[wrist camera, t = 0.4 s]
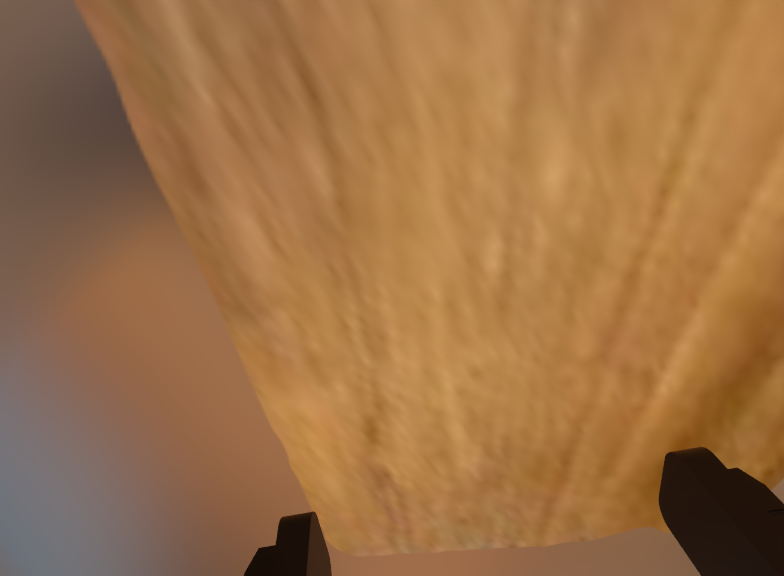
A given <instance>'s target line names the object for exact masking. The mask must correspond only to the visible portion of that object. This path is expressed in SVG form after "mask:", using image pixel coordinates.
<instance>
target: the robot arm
mask: <svg viewBox="0 0 784 576" xmlns="http://www.w3.org/2000/svg"><path fill="white" fill-rule="evenodd" d="M659 506H660V510H661V513H662V516H663V518H664V520H665V523H666V524H667V526H668V528H669V529H670V531H671V532H672V534H673V535H674V537H675V538H676V539H677V541H678V542H679V544H680V545H681V547H682V548H683V550H684V551H685V552H686V554H687V555H688V557H689V558H690V560H691V561H692V563H693V564H694V566H695V567H696V569H697V570H698V572H699V573H700V575H701V576H784V504H783V503H782V502H781V501H780V500H779V499H778V498H777V497H776V496H775V495H774V494H773V493H772V492H771V491H770V490H769V489H768V488H767V486H766V485H764V484H763V483H761V482H759V481H758V480H756V479H755V478H753V477H751V476H750V475H748V474H747V473H745V472H743V471H742V470H740V469H739V468H732V469H727V468H726V467H725V466H724V465H723V464H722V463H721V461H720V460H719V459H718V458H717V457H716V456H715V455H714V454H713V453H712V452H711V451H710V450H708V449H707V448H704V447H697V448H692V449H686V450H680V451H674V452H669V453H667V454H666V456H665V461H664V467H663V473H662V480H661V486H660V492H659ZM244 576H332V575H331V564H330V557H329V553H328V549H327V546H326V543H325V540H324V537H323V534H322V530H321V527H320V524H319V521H318V518H317V515H316V513H315V512H309V513H303V514H297V515H291V516H285V517H282V518H281V519H280V522H279V526H278V533H277V540H276V545H274V546H269V547H263V548H259V549H258V551H257V552H256V554H255V556H254V557H253V559H252V561H251V563H250V564H249V566H248V568H247V570H246V572H245V574H244Z"/></svg>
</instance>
